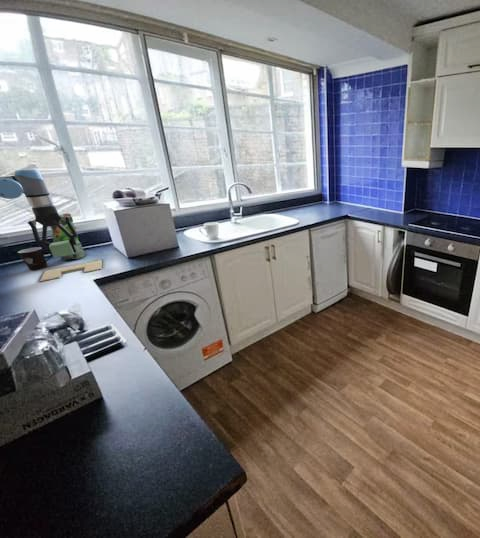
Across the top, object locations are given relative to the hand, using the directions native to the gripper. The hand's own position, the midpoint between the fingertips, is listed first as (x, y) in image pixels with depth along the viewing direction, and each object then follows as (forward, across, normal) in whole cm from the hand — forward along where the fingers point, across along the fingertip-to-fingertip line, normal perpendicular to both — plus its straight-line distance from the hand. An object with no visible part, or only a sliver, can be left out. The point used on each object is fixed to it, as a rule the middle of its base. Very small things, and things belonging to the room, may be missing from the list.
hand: (64, 253), depth 141 cm
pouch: (+11, +1, -30) cm, 32 cm away
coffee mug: (+11, +14, -22) cm, 29 cm away
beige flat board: (+11, 0, -3) cm, 11 cm away
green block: (0, 0, 0) cm, 0 cm away
